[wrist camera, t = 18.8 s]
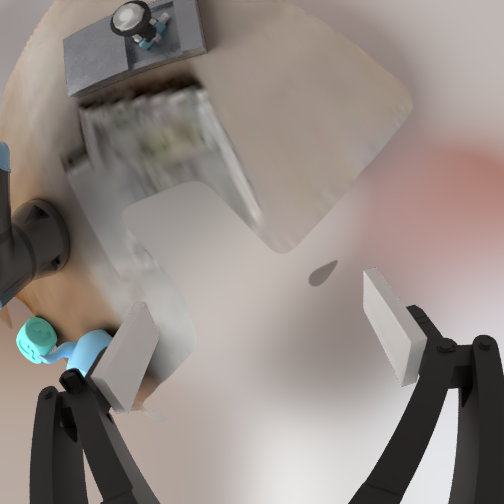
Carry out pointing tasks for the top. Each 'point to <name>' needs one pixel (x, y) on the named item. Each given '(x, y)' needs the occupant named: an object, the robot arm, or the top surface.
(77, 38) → the grey recessed block
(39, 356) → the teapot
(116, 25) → the push button
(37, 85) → the top surface
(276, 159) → the top surface
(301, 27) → the top surface
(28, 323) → the decorative dice
